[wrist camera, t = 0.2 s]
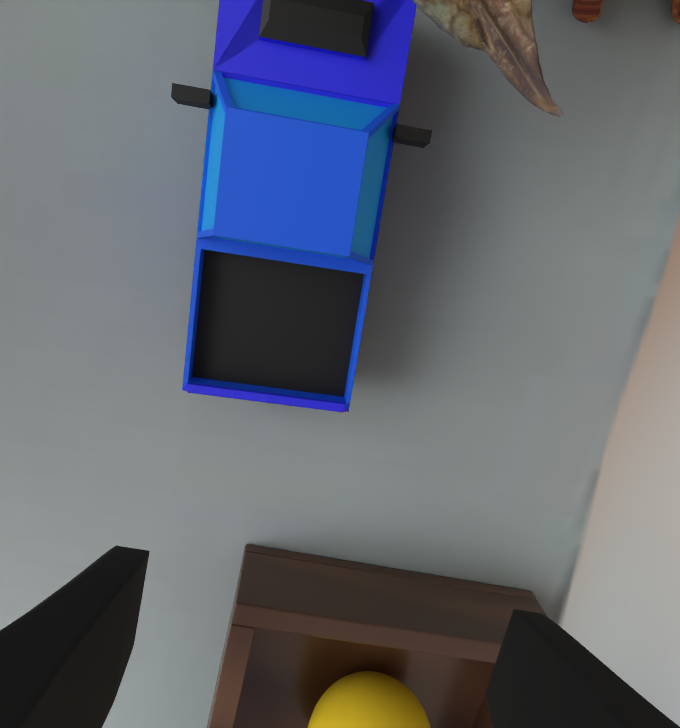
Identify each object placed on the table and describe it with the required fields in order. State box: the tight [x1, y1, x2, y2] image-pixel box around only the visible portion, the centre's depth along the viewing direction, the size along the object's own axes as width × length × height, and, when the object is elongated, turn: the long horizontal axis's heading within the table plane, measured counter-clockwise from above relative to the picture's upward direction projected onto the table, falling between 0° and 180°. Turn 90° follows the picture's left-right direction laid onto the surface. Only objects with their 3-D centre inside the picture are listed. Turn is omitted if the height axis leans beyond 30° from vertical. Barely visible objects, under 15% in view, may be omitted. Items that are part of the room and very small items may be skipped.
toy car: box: [171, 0, 432, 412], centre depth 16 cm, size 7×12×5 cm, turn 171°
